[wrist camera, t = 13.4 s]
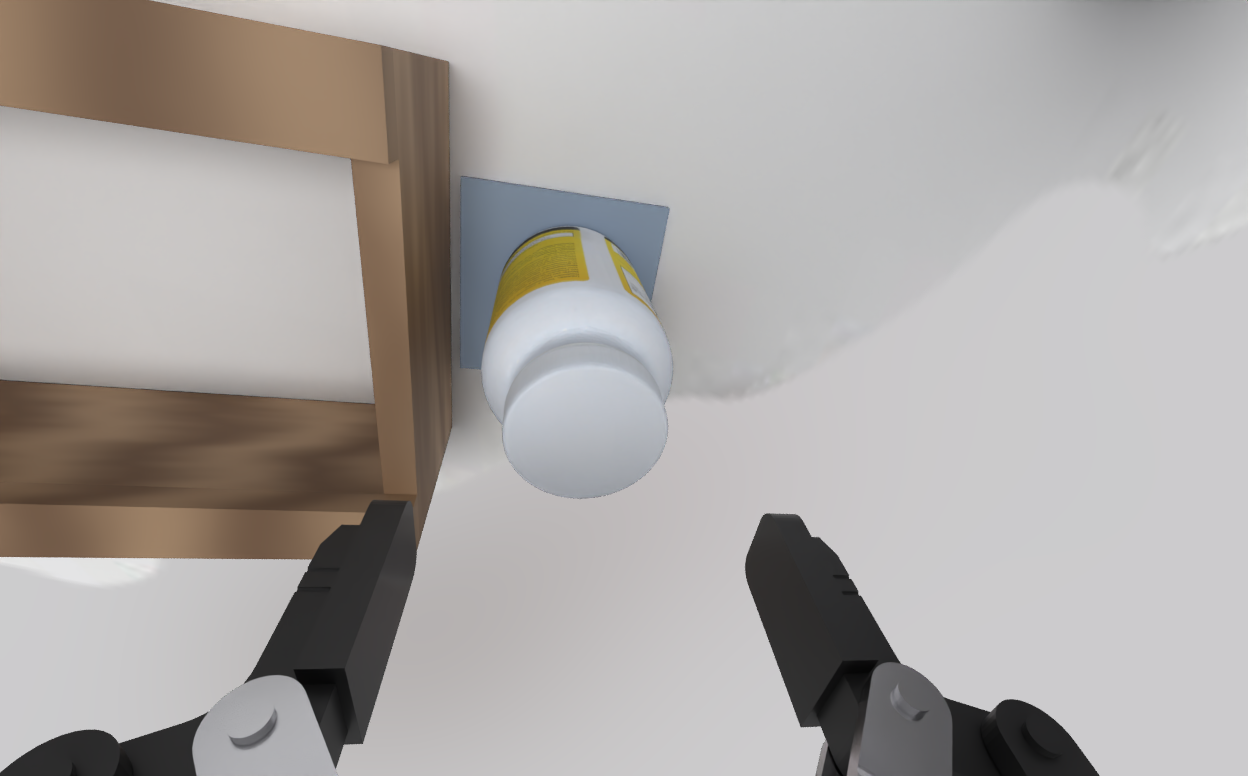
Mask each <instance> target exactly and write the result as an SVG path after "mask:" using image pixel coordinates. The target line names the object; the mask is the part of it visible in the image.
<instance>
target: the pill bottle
mask: <svg viewBox="0 0 1248 776" xmlns="http://www.w3.org/2000/svg"><path fill="white" fill-rule="evenodd" d="M481 374H482V384H483V389H484V393H485V396H486V399H487V401H488V404H489V406H490V408H491V410H492V411H493V413H494V415H495V416H496V418H497V419H498V420H499V421H500V423H501V424H502V425H503V426H502V439H503V445H504V449H505V453H506V455H507V458H508V460H509V462H510V463H511V465H512V466H513V468H514V470H515V471H516V472H517V473H518V474H519V475H520V476H521V477H522V478H523V479H524V480H526V481H527V482H528V483H530V484H531V485H533V486H535V487H536V488H538V489H540V490H542V491H544V492H547V493H550V494H553V495H556V496H561V497H567V498H578V499H579V498H580V499H582V498H595V497H601V496H605V495H609V494H612V493H615V492H617V491H620V490H622V489H625V488H627V487H628V486H630V485H632V484H634V483H635V482H637V481H638V480H639V479H641V478H642V477H643V476H644V475H646V474H647V473H648V472H649V471H650V470H651V468H652V467H653V466H654V465H655V464H656V462H657V461H658V459H659V458H660V456H661V453H662V452H663V449H664V447H665V443H666V440H667V434H668V420H667V414H666V410H665V407H664V404H665V402H666V400H667V397H668V394H669V391H670V387H671V383H672V376H673V360H672V353H671V349H670V344H669V342H668V339H667V336H666V334H665V331H664V329H663V327H662V325H661V323H660V321H659V319H658V317H657V315H656V313H655V310H654V308H653V306H652V304H651V302H650V300H649V298H648V296H647V294H646V292H645V290H644V288H643V286H642V284H641V282H640V280H639V278H638V276H637V274H636V272H635V269H634V267H633V265H632V263H631V262H630V260H629V259H628V257H627V256H626V255H625V253H624V252H623V251H622V250H621V248H619V247H618V246H617V245H616V244H615V243H614V242H613V241H611V240H610V239H609V238H607V237H606V236H604V235H602V234H600V233H598V232H596V231H593V230H590V229H587V228H582V227H577V226H560V227H553V228H549V229H546V230H543V231H540V232H538V233H536V234H534V235H532V236H531V237H529V238H527V239H526V240H525V241H524V242H522V243H521V244H520V245H519V246H518V247H517V248H516V249H515V250H514V252H513V253H512V254H511V256H510V257H509V259H508V260H507V262H506V264H505V266H504V268H503V271H502V274H501V277H500V281H499V285H498V290H497V294H496V299H495V303H494V307H493V312H492V316H491V321H490V325H489V329H488V334H487V338H486V342H485V346H484V351H483V356H482V366H481Z"/></svg>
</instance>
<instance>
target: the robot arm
mask: <svg viewBox="0 0 1248 776" xmlns="http://www.w3.org/2000/svg"><path fill="white" fill-rule="evenodd" d="M416 555H417V549H416V538H415V527H414V516H413V506H412V503H411V501H399V500H372V501H371V503H370V504H369V506H368V508H367V510H366V512H365V515H364V517H363V519H362V521H361V523H360V525H341V526H340V527H338V528H337V529H336V530H335V531H334V532H333V533H332V534H331V535H330V536H329V537H327V538H326V539H325V540H324V541H323V542H322V543H321V544H320V545H319V547H318V549H317V551H316V553H315V555H314V557H313V559H312V561H311V562H310V564H309V566H308V571H307V572H305V574H304V576H303V578H302V580H301V581H300V584H299V585H298V590H297V592H295V593H294V595H293V597H292V598H291V600H290V602H289V604H288V606H287V608H286V610H285V612H284V614H283V616H282V618H281V619H280V621H279V623H278V625H277V627H276V629H275V631H274V633H273V634H272V636H271V638H270V640H269V642H268V644H267V646H266V648H265V650H264V652H263V653H262V655H261V657H260V659H259V661H258V663H257V665H256V667H255V668H254V670H253V672H252V673H251V675H250V676H249V677H248V679H247V680H246V681H245V683H244V684H242V685H241V686H239V687H237V688H236V689H234V690H232V691H231V692H230V693H228V694H227V695H226V696H224V697H223V698H222V699H221V700H220V701H219V702H217V704H215V705H214V707H213V708H212V709H211V710H210V711H209V712H207V713H206V714H204V715H201V716H199V717H197V718H195V719H193V720H190V721H187V722H185V723H182V724H179V725H176V726H172V727H169V728H166V729H163V730H160V731H157V732H154V733H151V734H147V735H144V736H141V737H138V738H135V739H132V740H129V741H125V742H122V743H118V742H117V740H116V739H115V738H114V737H113V736H112V735H111V734H108V733H106V732H104V731H100V730H82V731H75V732H71V733H68V734H65V735H61V736H59V737H56V738H54V739H52V740H49V741H47V742H45V743H43V744H41V745H39V746H37V747H35V748H34V749H32V750H31V751H29V752H27V753H26V754H24V755H23V756H21V757H20V758H18V759H17V760H16V761H14V762H13V763H11V764H10V765H9V766H8V767H7V768H5V769H4V770H3V771H2V772H1V773H0V776H338V774H337V772H336V766H337V763H338V760H339V757H340V754H341V751H342V748H343V745H344V744H363V741H364V738H365V735H366V731H367V727H368V725H369V722H370V718H371V715H372V712H373V708H374V705H375V701H376V699H377V695H378V692H379V689H380V685H381V682H382V679H383V675H384V672H385V669H386V666H387V662H388V659H389V656H390V652H391V649H392V646H393V643H394V639H395V636H396V633H397V629H398V626H399V622H400V619H401V616H402V613H403V609H404V606H405V603H406V600H407V596H408V593H409V590H410V586H411V583H412V580H413V576H414V571H415V565H416ZM745 571H746V578H747V582H748V585H749V588H750V591H751V594H752V596H753V599H754V602H755V604H756V607H757V610H758V612H759V615H760V618H761V621H762V623H763V626H764V629H765V631H766V634H767V637H768V640H769V642H770V645H771V647H772V650H773V653H774V656H775V658H776V661H777V664H778V667H779V669H780V672H781V675H782V677H783V680H784V683H785V686H786V688H787V691H788V694H789V696H790V699H791V702H792V704H793V707H794V710H795V712H796V715H797V718H798V721H799V723H800V726H801V727H817V726H821V728H822V730H823V733H824V736H825V738H826V740H825V742H824V743H823V746H822V748H821V753H820V758H819V762H818V766H817V771H816V776H1099V774H1098V773H1097V771H1095V769H1094V767H1093V766H1092V765H1091V763H1090V762H1089V761H1088V759H1087V758H1086V756H1085V755H1084V754H1083V752H1082V751H1081V749H1080V748H1079V747H1078V746H1077V744H1076V743H1075V741H1074V740H1073V739H1072V738H1071V736H1070V735H1069V734H1068V733H1067V732H1066V731H1065V729H1063V727H1062V726H1060V725H1059V724H1058V723H1057V722H1056V721H1055V720H1054V719H1053V718H1051V717H1050V716H1049V715H1048V714H1046V713H1045V712H1043V711H1042V710H1040V709H1038V708H1036V707H1035V706H1033V705H1031V704H1028V703H1026V702H1023V701H1019V700H1013V699H1010V700H1004V701H1002V702H1001V703H999V705H997V706H996V708H994V709H993V710H992V711H991V712H988V711H985V710H981V709H978V708H975V707H972V706H969V705H966V704H962V703H960V702H956V701H953V700H950V699H947V698H944V697H943V696H942V695H941V693H940V692H939V690H938V689H937V688H936V687H935V686H934V685H933V684H932V683H931V682H930V681H929V680H928V679H927V678H926V677H924V676H923V675H922V674H920V673H919V672H917V671H916V670H914V669H912V668H910V667H908V666H906V665H903V664H901V663H900V661H899V660H898V659H897V657H896V655H895V654H894V652H893V650H892V649H891V647H890V645H889V643H888V641H887V640H886V638H885V636H884V635H883V633H882V631H881V630H880V628H879V626H878V624H877V623H876V621H875V619H874V617H873V616H872V614H871V612H870V611H869V609H868V607H867V605H866V604H865V602H864V600H863V598H862V597H861V596H859V595H858V590H857V588H856V586H855V585H854V583H853V581H852V580H851V579H849V574H848V573H847V571H846V569H845V567H844V566H843V564H842V562H841V561H840V559H839V557H838V556H837V554H836V553H835V552H834V551H833V550H832V549H831V548H829V547H828V546H827V545H826V544H825V543H824V542H823V541H822V540H821V539H820V538H819V537H811V535H810V533H809V531H808V530H807V528H806V526H805V524H804V522H803V520H802V519H801V518H800V517H799V516H798V515H795V514H765V515H763V517H762V518H761V521H760V523H759V526H758V528H757V531H756V534H755V536H754V539H753V541H752V544H751V546H750V549H749V552H748V554H747V557H746V563H745Z"/></svg>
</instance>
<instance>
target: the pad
mask: <svg viewBox="0 0 1248 776" xmlns="http://www.w3.org/2000/svg"><path fill="white" fill-rule="evenodd" d="M668 214H669V208H668V207H664V206H657V205H651V204H644V203H637V202H631V201H624V200H617V199H611V198H604V197H598V196H591V195H584V194H578V193H571V192H564V191H558V190H551V189H545V188H538V187H531V186H525V185H518V184H511V183H505V182H498V181H492V180H485V179H478V178H472V177H465V176H462V177H461V246H460V368H469V369H481V366H482V356H483V351H484V346H485V342H486V338H487V334H488V329H489V325H490V321H491V316H492V312H493V307H494V303H495V299H496V294H497V290H498V285H499V281H500V277H501V274H502V271H503V268H504V266H505V264H506V262H507V260H508V259H509V257H510V256H511V254H512V253H513V252H514V250H515V249H516V248H517V247H518V246H519V245H520V244H521V243H522V242H524V241H525V240H526V239H527V238H529V237H531V236H532V235H534V234H536V233H538V232H540V231H543V230H546V229H549V228H553V227H560V226H577V227H582V228H587V229H590V230H593V231H596V232H598V233H600V234H602V235H604V236H606V237H607V238H609V239H610V240H611V241H613V242H614V243H615V244H616V245H617V246H618V247H619V248H621V250H622V251H623V252H624V253H625V255H626V256H627V257H628V259H629V260H630V262H631V263H632V265H633V267H634V269H635V272H636V274H637V276H638V278H639V280H640V282H641V284H642V286H643V288H644V290H645V292H646V294H647V296H648V298H649V300H650V302H651V299H652V294H653V289H654V284H655V279H656V274H657V269H658V264H659V259H660V254H661V249H662V244H663V239H664V234H665V229H666V224H667V219H668Z"/></svg>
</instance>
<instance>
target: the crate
mask: <svg viewBox="0 0 1248 776" xmlns="http://www.w3.org/2000/svg"><path fill="white" fill-rule="evenodd" d="M0 105H1V106H7V107H14V108H21V109H27V110H34V111H40V112H47V113H54V114H60V115H67V116H73V117H80V118H87V119H93V120H100V121H106V122H113V123H120V124H126V125H133V126H140V127H146V128H153V129H159V130H166V131H173V132H179V133H186V134H192V135H199V136H206V137H212V138H219V139H225V140H232V141H239V142H245V143H252V144H258V145H265V146H272V147H278V148H285V149H292V150H298V151H305V152H311V153H318V154H325V155H331V156H338V157H344V158H351V165H352V175H353V185H354V195H355V205H356V216H357V226H358V236H359V246H360V256H361V266H362V276H363V287H364V297H365V307H366V317H367V327H368V337H369V347H370V358H371V368H372V378H373V388H374V398H375V404H362V403H347V402H331V401H315V400H300V399H284V398H269V397H253V396H237V395H222V394H206V393H191V392H175V391H159V390H144V389H128V388H112V387H97V386H81V385H66V384H50V383H34V382H19V381H3V380H0V557H80V558H204V559H206V558H207V559H209V558H210V559H313V557H314V555H315V553H316V551H317V549H318V547H319V545H320V544H321V543H322V542H323V541H324V540H325V539H326V538H327V537H329V536H330V535H331V534H332V533H333V532H334V531H335V530H336V529H337V528H338V527H340V526H341V525H360V523H361V521H362V519H363V517H364V515H365V512H366V510H367V508H368V506H369V504H370V503H371V501H372V500H399V501H411V503H412V506H413V516H414V527H415V538H416V549H417V548H418V544H419V541H420V538H421V534H422V531H423V527H424V524H425V520H426V517H427V513H428V510H429V506H430V503H431V499H432V495H433V492H434V488H435V485H436V481H437V478H438V474H439V471H440V467H441V464H442V460H443V457H444V453H445V450H446V446H447V443H448V439H449V436H450V432H451V428H452V396H451V279H450V162H449V62H448V61H444V60H440V59H435V58H431V57H427V56H423V55H419V54H415V53H411V52H407V51H403V50H398V49H394V48H390V47H386V46H382V45H377V44H372V43H367V42H362V41H356V40H351V39H346V38H341V37H336V36H331V35H325V34H320V33H315V32H310V31H305V30H300V29H294V28H289V27H284V26H279V25H274V24H269V23H264V22H258V21H253V20H248V19H243V18H238V17H233V16H227V15H222V14H217V13H212V12H207V11H202V10H196V9H191V8H186V7H181V6H176V5H171V4H165V3H160V2H155V1H150V0H0Z"/></svg>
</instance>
